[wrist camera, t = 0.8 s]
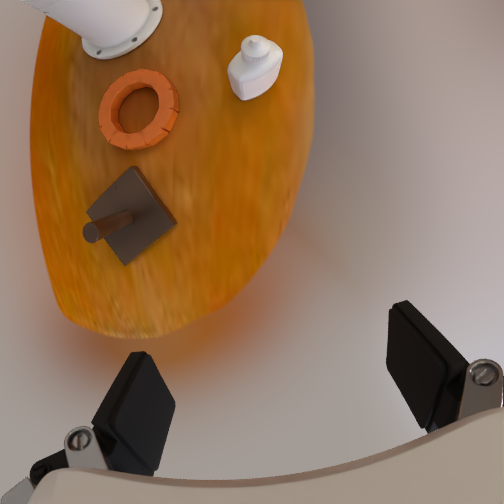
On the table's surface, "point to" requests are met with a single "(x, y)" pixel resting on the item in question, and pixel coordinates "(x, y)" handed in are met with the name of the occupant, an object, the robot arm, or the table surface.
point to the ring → (162, 118)
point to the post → (128, 216)
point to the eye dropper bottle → (254, 67)
